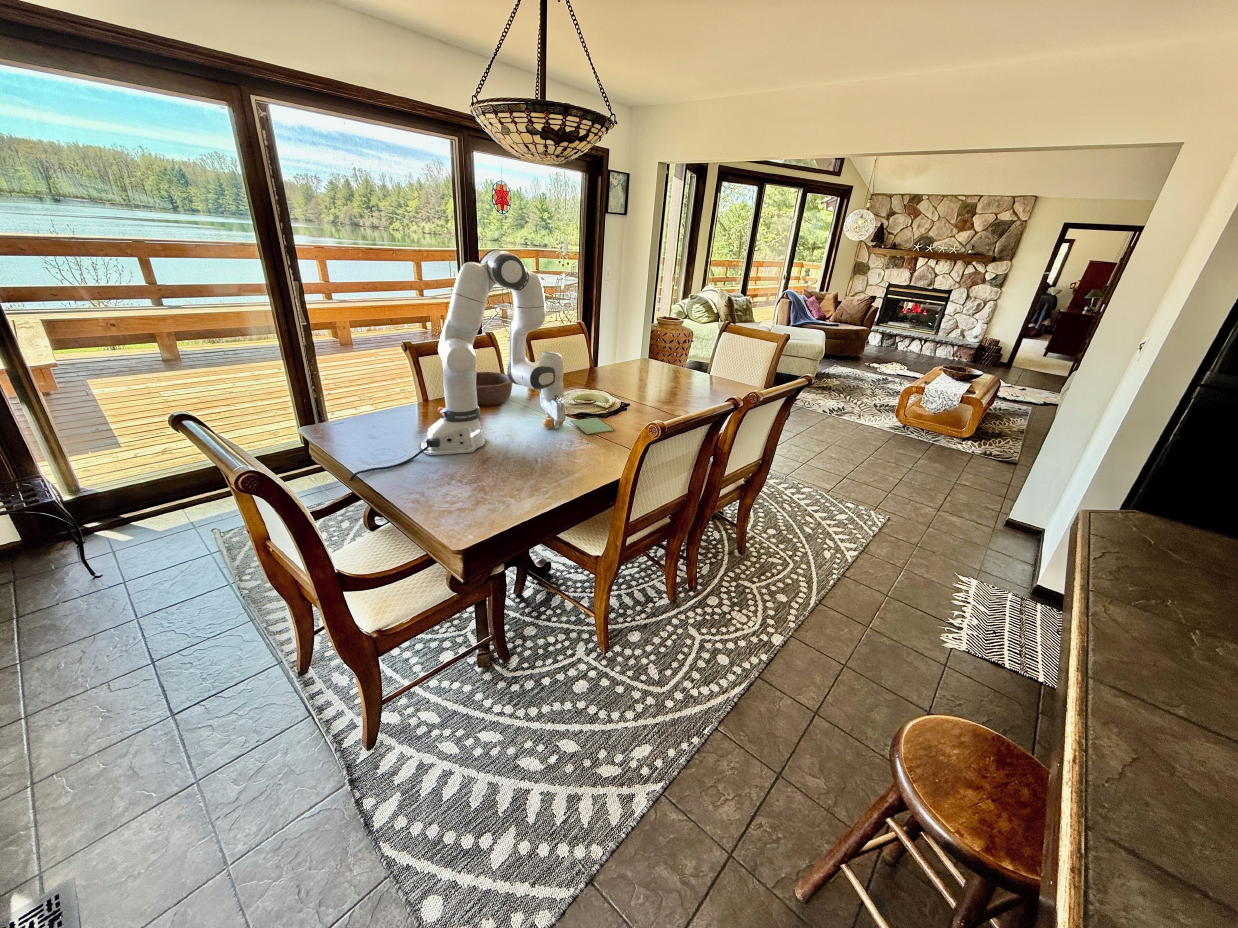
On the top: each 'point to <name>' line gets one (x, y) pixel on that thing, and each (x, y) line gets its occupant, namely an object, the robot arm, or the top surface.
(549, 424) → the roll
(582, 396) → the banana
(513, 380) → the robot arm
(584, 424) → the cloth
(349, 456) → the top surface
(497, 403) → the wooden bowl
